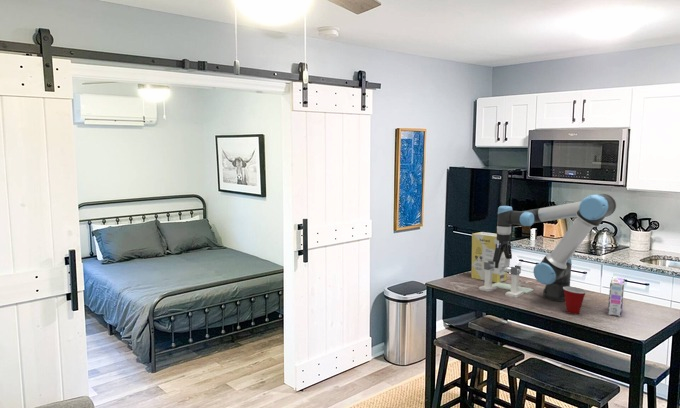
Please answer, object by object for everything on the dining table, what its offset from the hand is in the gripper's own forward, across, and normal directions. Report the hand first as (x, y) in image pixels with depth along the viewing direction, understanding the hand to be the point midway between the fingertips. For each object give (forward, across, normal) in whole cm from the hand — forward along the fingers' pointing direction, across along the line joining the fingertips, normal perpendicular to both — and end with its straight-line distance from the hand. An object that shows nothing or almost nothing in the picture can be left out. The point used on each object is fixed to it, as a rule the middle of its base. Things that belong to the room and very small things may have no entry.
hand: (501, 271), depth 282 cm
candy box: (+12, -7, +57) cm, 59 cm away
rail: (0, 0, 0) cm, 0 cm away
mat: (+12, -12, +1) cm, 17 cm away
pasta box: (+12, -21, -18) cm, 30 cm away
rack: (+12, 0, 0) cm, 12 cm away
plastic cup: (+12, +8, +42) cm, 44 cm away
